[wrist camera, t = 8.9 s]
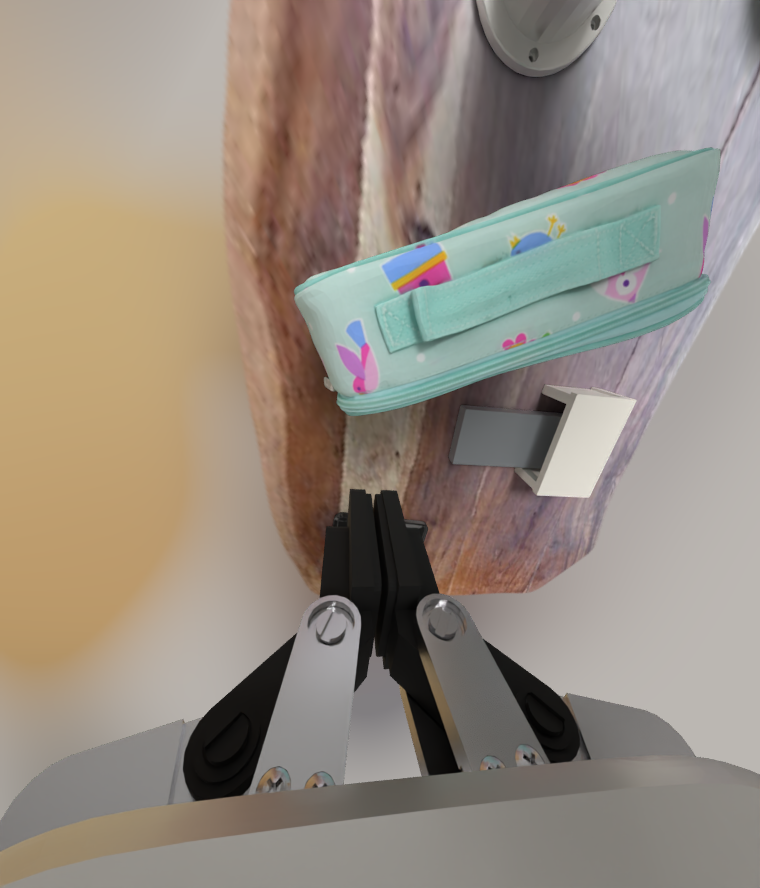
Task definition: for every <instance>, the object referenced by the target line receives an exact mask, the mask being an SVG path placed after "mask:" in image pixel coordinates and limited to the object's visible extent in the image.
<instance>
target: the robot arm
mask: <svg viewBox="0 0 760 888" xmlns="http://www.w3.org/2000/svg"><path fill="white" fill-rule="evenodd" d="M476 2H477V7H478V11H479V16H480V21H481V24H482V26H483V29H484V32H485V35H486V37H487V40H488V41H489V43H490V45H491V47H492V48H493V50H494V52H495V53H496V55H497V56H498V57H499V58H500V59H501V60H502V61H503V63H504V64H505V65H507V66H508V67H510V68H511V69H512V70H514V71H515V72H517V73H520V74H523V75H526V76H531V77H543V76H547V75H551V74H554V73H556V72H558V71H560V70H562V69H564V68H566V67H567V66H569V65H570V64H571V63H572V62H574V61H575V60H576V59H577V58H579V56H580V55H581V54H582V53H583V52H584V51H585V50H586V49H587V48H588V47H589V46H590V45H591V44H592V42H593V41H594V40H595V39H596V37H597V36H598V35H599V34H600V32H601V31H602V29H603V27H604V26H605V24H606V22H607V20H608V19H609V17H610V15H611V13H612V12H613V10H614V7H615V5H616V2H617V0H476ZM374 637H375V649H376V656H377V657H380V656H383V665H384V669H389V671H390V676H391V677H392V678H393V679H394V680H395V681H396V682H397V683H398V684H399V687H400V695H401V699H402V702H403V706H404V710H405V714H406V718H407V721H408V725H409V729H410V733H411V737H412V741H413V745H414V748H415V752H416V756H417V760H418V764H419V768H420V772H421V775H422V777H413V778H403V779H393V780H384V781H374V782H365V783H355V784H345V785H344V775H345V767H346V757H347V748H348V739H349V730H350V721H351V712H352V702H353V694H354V692H355V691H356V690H357V688H358V687H359V686H360V685H361V683H362V682H363V681H364V679H365V678H366V677H367V671H368V664H369V658H370V657H371V654H372V648H373V642H374ZM0 888H760V774H757V773H755V772H753V771H750V770H747V769H744V768H741V767H738V766H735V765H732V764H729V763H726V762H722V761H717V760H713V759H709V758H701V757H696V756H695V755H694V753H693V751H692V750H691V748H690V747H689V746H688V745H687V743H686V742H685V740H684V739H683V738H682V736H681V735H680V734H679V733H678V732H677V731H676V730H674V729H673V728H672V726H671V725H670V724H668V723H667V722H665V721H664V720H663V719H661V718H660V717H658V716H657V715H655V714H652V713H650V712H648V711H645V710H641V709H637V708H633V707H628V706H624V705H619V704H614V703H610V702H605V701H601V700H596V699H592V698H587V697H582V696H577V695H573V694H568V693H567V694H566V695H565V696H564V697H563V696H559V695H557V694H556V693H555V692H554V691H553V690H552V689H551V688H550V687H548V686H547V685H545V684H544V683H543V682H541V681H540V680H539V679H537V678H536V677H535V676H533V675H532V674H531V673H529V672H528V671H526V670H525V669H524V668H522V667H521V666H519V665H518V664H517V663H515V662H514V661H513V660H511V659H510V658H509V657H507V656H506V655H504V654H503V653H502V652H500V651H499V650H498V649H496V648H495V647H494V646H492V645H491V644H490V643H488V642H487V641H485V640H484V639H482V636H481V635H480V633H479V631H478V629H477V627H476V625H475V623H474V622H473V620H472V618H471V616H470V614H469V613H468V611H467V610H466V609H465V607H464V606H463V605H462V604H461V603H460V602H458V601H457V600H455V599H454V598H452V597H450V596H448V595H444V594H440V593H439V590H438V587H437V584H436V581H435V578H434V574H433V571H432V568H431V565H430V562H429V559H428V555H427V552H426V549H425V546H424V543H423V539H422V536H421V533H420V531H419V529H418V528H406V524H405V521H404V517H403V513H402V509H401V505H400V501H399V497H398V494H397V491H390V490H381V493H380V494H375V499H374V507H373V505H372V497H371V494H366V491H365V490H358V489H350V495H349V509H348V522H347V527H332V526H327V527H326V537H325V547H324V558H323V569H322V579H321V590H320V598H319V599H318V600H316V601H314V602H313V603H312V604H311V605H310V606H309V607H308V608H307V609H306V611H305V613H304V615H303V617H302V619H301V623H300V626H299V629H298V632H297V633H296V634H295V635H294V636H293V637H292V638H291V639H290V640H288V641H287V642H286V643H285V644H284V645H283V646H282V647H280V649H278V650H277V651H276V652H275V653H274V654H272V655H271V656H270V657H269V658H268V659H267V660H266V661H265V662H263V663H262V664H261V665H260V666H259V667H258V668H257V669H256V670H254V671H253V672H252V673H251V674H250V675H249V676H248V677H247V678H245V679H244V680H243V681H242V682H241V683H240V684H238V685H237V686H236V687H235V688H234V689H233V690H232V691H231V692H230V693H228V694H227V695H226V696H225V697H224V698H223V699H221V700H220V701H219V702H218V703H217V704H216V705H215V706H214V707H212V708H211V709H210V710H209V711H208V712H207V714H206V715H205V716H204V717H202V718H199V719H196V720H193V721H190V722H187V723H185V722H184V720H183V719H182V720H179V721H176V722H172V723H170V724H166V725H163V726H160V727H157V728H154V729H151V730H148V731H145V732H142V733H139V734H136V735H132V736H129V737H126V738H123V739H120V740H117V741H114V742H111V743H107V744H104V745H101V746H98V747H95V748H92V749H89V750H86V751H83V752H80V753H77V754H73V755H70V756H68V757H66V758H64V759H63V760H60V761H58V762H56V763H54V764H52V765H51V766H49V767H48V768H47V769H45V770H44V771H43V772H41V773H40V774H39V775H38V776H36V777H35V778H34V779H33V780H32V781H31V782H30V783H29V784H28V785H27V786H26V787H25V788H24V789H23V790H22V791H21V792H20V794H19V795H18V796H17V797H16V798H15V799H14V800H13V802H12V803H11V805H10V806H9V808H8V810H7V811H6V813H5V814H4V816H3V817H2V819H1V820H0Z"/></svg>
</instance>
